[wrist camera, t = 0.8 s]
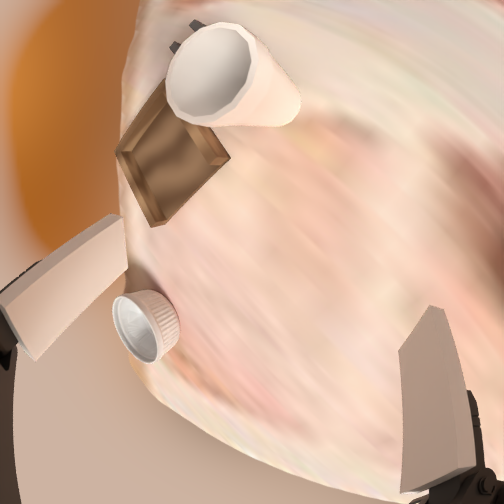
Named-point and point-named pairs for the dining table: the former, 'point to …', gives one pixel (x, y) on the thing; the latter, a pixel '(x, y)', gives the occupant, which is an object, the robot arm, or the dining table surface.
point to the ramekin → (146, 324)
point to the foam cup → (229, 80)
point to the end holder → (167, 158)
